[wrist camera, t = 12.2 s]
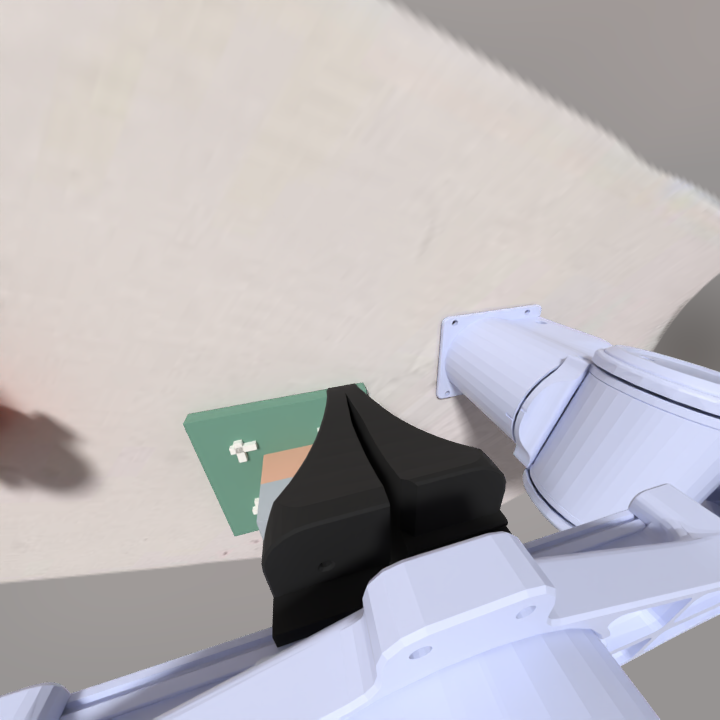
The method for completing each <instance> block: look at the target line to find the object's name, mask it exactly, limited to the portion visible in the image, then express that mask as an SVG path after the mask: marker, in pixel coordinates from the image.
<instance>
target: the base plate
mask: <svg viewBox="0 0 720 720" xmlns="http://www.w3.org/2000/svg"><path fill="white" fill-rule="evenodd" d="M356 385H357V386H358V387H359V388H360V389H361V390H362V391H364V392H365V393H366V394H367V390H366V388H365V386H364V384H363V383H358V384H356ZM327 390H328V389H325V390H319V391H314V392H308V393H303V394H297V395H292V396H286V397H281V398H275V399H270V400H264V401H258V402H253V403H247V404H242V405H236V406H231V407H225V408H220V409H214V410H209V411H203V412H198V413H192V414H188V416H187V418H186V419H185V421H184V423H183V425H184V427H185V429H186V432H187V434H188V436H189V438H190V440H191V442H192V445H193V447H194V449H195V451H196V453H197V456H198V458H199V460H200V462H201V464H202V466H203V469H204V471H205V473H206V475H207V477H208V479H209V482H210V484H211V486H212V488H213V490H214V492H215V495H216V497H217V499H218V501H219V503H220V506H221V508H222V510H223V512H224V514H225V516H226V519H227V521H228V523H229V525H230V527H231V529H232V532H233V534H234V536H238V535H242V534H246V533H250V532H254V531H257V530H259V528H258V525H257V513H258V504H259V494H260V485H261V476H262V466H263V457H264V455H266V454H270V453H275V452H280V451H284V450H289V449H294V448H298V447H303V446H308V445H312V444H313V443H314V441H315V438H316V436H317V434H318V431H319V428H320V425H321V422H322V419H323V416H324V411H325V407H326V401H327V393H326V391H327Z"/></svg>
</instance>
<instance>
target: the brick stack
mask: <svg viewBox="0 0 720 720" xmlns="http://www.w3.org/2000/svg"><path fill="white" fill-rule="evenodd" d="M312 445H313V444H312ZM312 445H308V446H303V447H298V448H294V449H289V450H284V451H280V452H275V453H270V454H266V455H264V457H263V466H262V476H261V485H260V494H259V504H258V513H257V525H258V528H259V531H260V533H261V536H262V539H263V541H264V535H265V530H266V525H267V522H268V518H269V514H270V511H271V508H272V505H273V502H274V501H275V500H276V498H277V497H278V496H279V495H280V493H281V492H282V491H283V490H284V489H285V487H286V486H287V485H288V484H289V482H290V481H291V480H292V478H293V477H294V475H295V474H296V472H297V471H298V469H299V468H300V466H301V465H302V463H303V462H304V460H305V458H306V456H307V455H308V453H309V451H310V449H311V447H312Z"/></svg>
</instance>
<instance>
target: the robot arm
mask: <svg viewBox="0 0 720 720" xmlns="http://www.w3.org/2000/svg"><path fill="white" fill-rule="evenodd" d="M525 311H526V313H525ZM540 313H541V306H540V305H528V306H521V307H514V308H507V309H500V310H493V311H486V312H479V313H472V314H465V315H458V316H451V317H446V318H445V319H444V320H443V321H442V328H441V340H440V353H439V365H438V378H437V390H436V395H437V396H438V397H439V398H440V399H442V398H447V397H452V396H457V395H462V394H464V395H465V396H466V397H467V398H468V399H469V400H470V401H471V402H472V403H474V404H475V405H476V406H477V407H478V408H479V409H480V410H481V411H482V412H483V413H484V414H485V415H486V416H487V417H488V418H489V419H490V420H492V421H493V422H494V423H495V424H496V425H497V426H498V427H499V428H500V429H501V430H502V431H503V432H504V433H505V434H506V435H507V436H508V437H510V438H511V439H512V440H513V441H514V442H515V443H516V448H515V451H514V453H513V455H514V456H515V457H516V458H517V459H518V460H519V461H520V462H521V463H522V464H523V465H524V466H525V467H526V469H525V470H524V473H523V484H524V487H525V489H526V491H527V493H528V495H529V497H530V498H531V500H532V502H533V503H534V504H535V505H536V507H537V508H538V510H539V511H540V512H541V513H542V514H543V516H544V517H545V518H546V519H547V520H548V521H549V522H550V523H551V524H552V525H553V526H554V527H555V528H556V529H558V530H559V531H560V532H557V533H554V534H551V535H548V536H545V537H542V538H539V539H536V540H533V541H530V542H528V543H524V544H522V543H521V541H520V540H519V539H518V537H516V536H514V535H512V534H511V532H510V531H509V529H508V528H507V527H506V525H507V524H508V521H507V519H506V517H505V516H504V515H503V513H502V512H501V511H500V507H501V503H502V499H503V496H504V492H505V485H506V480H505V477H504V474H503V473H502V472H501V471H500V470H499V469H498V468H497V466H496V465H495V464H494V463H493V462H492V460H491V459H490V458H489V457H488V456H487V455H486V454H485V453H484V452H483V451H482V450H481V449H477V448H474V447H470V446H466V445H462V444H458V443H455V442H452V441H449V440H446V439H443V438H440V437H437V436H435V435H432V434H429V433H427V432H425V431H423V430H420V429H418V428H416V427H414V426H412V425H410V424H408V423H406V422H404V421H403V420H401V419H399V418H397V417H396V416H394V415H393V414H391V413H390V412H388V411H387V410H386V409H384V408H383V407H381V406H380V405H379V404H378V403H376V402H375V401H374V400H373V399H371V398H370V397H369V396H368V395H367V394H366V393H365V392H364V391H362V390H361V389H360V388H359V387H358V386H357V385H356V384H350V385H344V386H339V387H333V388H328V390H327V391H326V393H327V401H326V407H325V411H324V416H323V419H322V422H321V425H320V428H319V431H318V434H317V436H316V438H315V441H314V443H313V445H312V447H311V449H310V451H309V453H308V455H307V456H306V458H305V460H304V462H303V463H302V465H301V466H300V468H299V469H298V471H297V472H296V474H295V475H294V477H293V478H292V480H291V481H290V482H289V484H288V485H287V486H286V487H285V489H284V490H283V491H282V492H281V493H280V495H279V496H278V497H277V498H276V500H275V501H274V502H273V505H272V508H271V511H270V514H269V518H268V522H267V525H266V530H265V535H264V541H263V552H262V569H263V573H264V575H265V578H266V580H267V583H268V585H269V587H270V590H271V592H272V594H273V597H274V599H273V600H274V601H273V626H272V627H270V628H267V629H264V630H261V631H258V632H255V633H252V634H249V635H246V636H243V637H240V638H237V639H234V640H231V641H228V642H225V643H222V644H219V645H215V646H212V647H209V648H206V649H204V650H201V651H197V652H194V653H191V654H188V655H185V656H183V657H179V658H176V659H173V660H171V661H167V662H164V663H161V664H158V665H155V666H152V667H149V668H146V669H143V670H140V671H137V672H134V673H131V674H128V675H125V676H122V677H119V678H116V679H113V680H110V681H107V682H104V683H101V684H98V685H95V686H92V687H88V688H85V689H83V690H79V691H76V692H73V693H70V692H69V691H68V690H67V689H66V687H64V686H63V685H61V684H58V683H55V682H47V683H40V684H35V685H32V686H29V687H26V688H23V689H19V690H16V691H13V692H10V693H7V694H4V695H0V720H660V718H659V717H658V716H657V714H656V713H655V712H654V710H653V709H652V708H651V706H650V705H649V704H648V702H647V701H646V700H645V699H644V697H643V696H642V694H641V693H640V692H639V690H638V689H637V688H636V687H635V685H634V684H633V683H632V681H631V680H630V679H629V677H628V676H627V675H626V673H625V672H624V671H623V669H622V668H621V667H620V666H622V665H623V664H625V663H627V662H629V661H631V660H633V659H634V658H636V657H638V656H640V655H642V654H644V653H646V652H647V651H649V650H651V649H653V648H655V647H657V646H659V645H660V644H662V643H664V642H666V641H668V640H670V639H672V638H674V637H676V636H677V635H679V634H681V633H683V632H685V631H687V630H689V629H691V628H693V627H695V626H697V625H699V624H701V623H703V622H705V621H707V620H709V619H711V618H713V617H715V616H718V615H720V372H717V371H715V370H711V369H708V368H705V367H702V366H699V365H696V364H692V363H689V362H686V361H683V360H680V359H676V358H673V357H669V356H666V355H662V354H658V353H655V352H651V351H647V350H643V349H639V348H634V347H629V346H623V345H615V346H613V345H611V344H610V343H609V342H607V341H605V340H603V339H601V338H599V337H596V336H593V335H590V334H587V333H585V332H582V331H579V330H576V329H573V328H570V327H568V326H565V325H562V324H559V323H556V322H553V321H550V320H548V319H545V318H542V317H540ZM454 320H455V323H454V324H453V325H452V322H453V321H454ZM447 391H448V392H447ZM446 392H447V393H446Z"/></svg>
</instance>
